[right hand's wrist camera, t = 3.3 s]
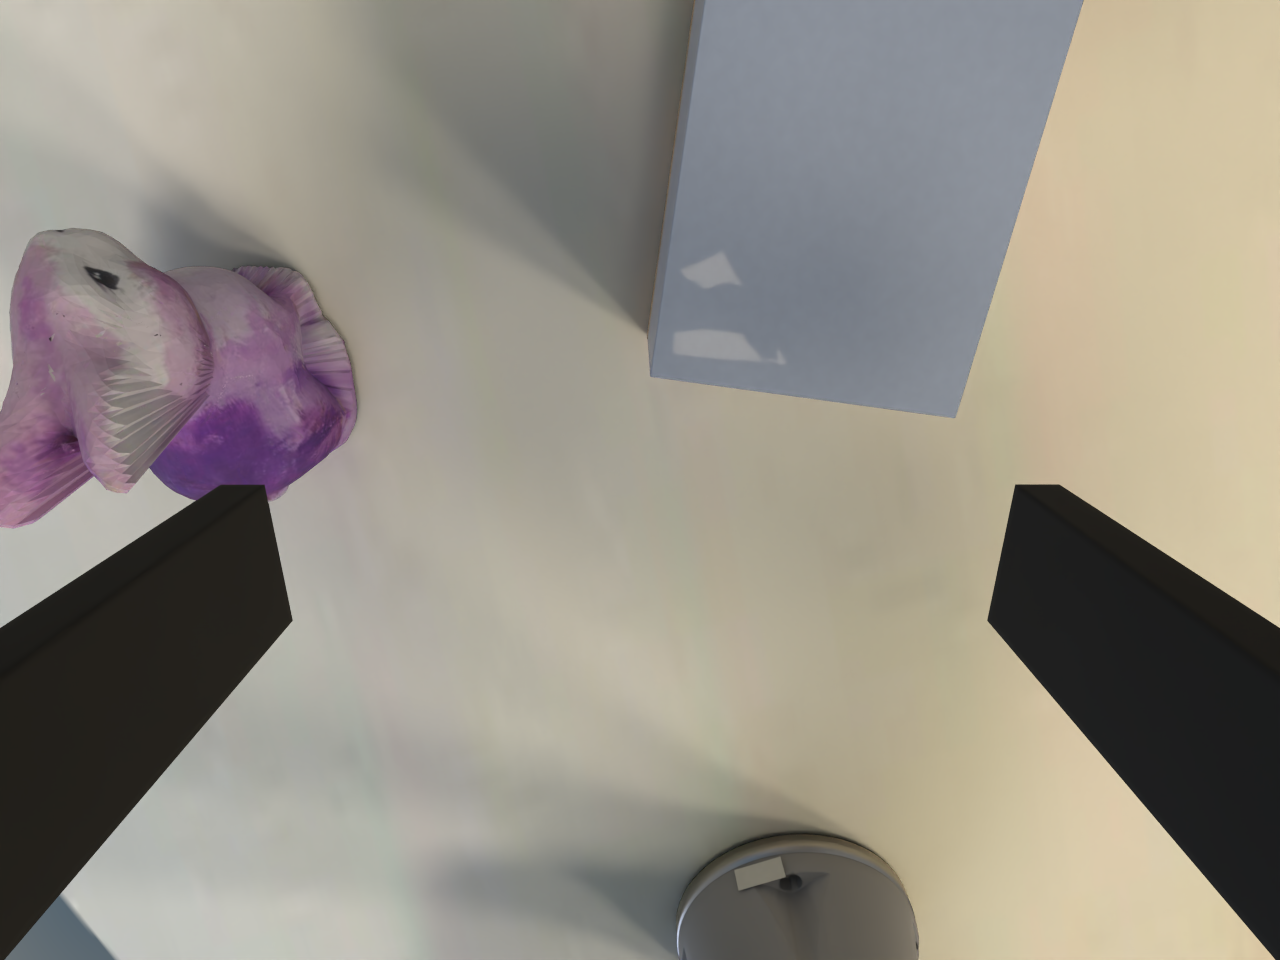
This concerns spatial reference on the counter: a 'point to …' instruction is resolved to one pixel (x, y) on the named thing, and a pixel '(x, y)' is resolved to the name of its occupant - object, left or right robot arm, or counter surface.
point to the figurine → (162, 376)
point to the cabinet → (848, 192)
